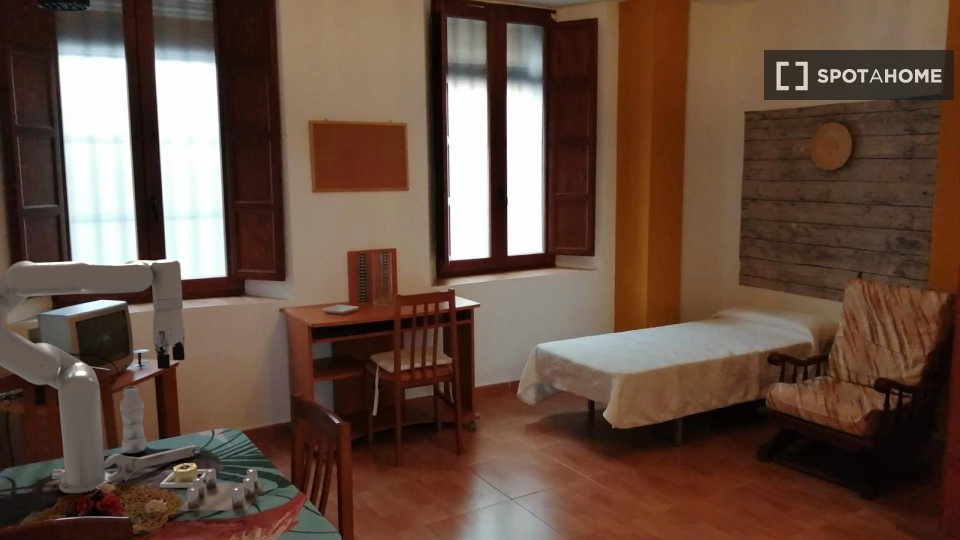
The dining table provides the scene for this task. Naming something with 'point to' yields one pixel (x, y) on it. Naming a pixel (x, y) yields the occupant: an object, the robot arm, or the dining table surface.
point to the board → (222, 498)
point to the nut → (185, 473)
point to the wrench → (144, 461)
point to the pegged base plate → (210, 476)
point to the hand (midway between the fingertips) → (171, 364)
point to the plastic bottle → (132, 421)
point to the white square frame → (180, 485)
